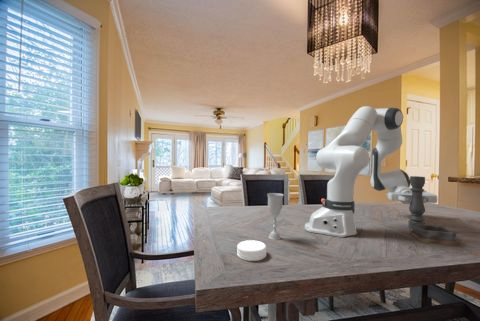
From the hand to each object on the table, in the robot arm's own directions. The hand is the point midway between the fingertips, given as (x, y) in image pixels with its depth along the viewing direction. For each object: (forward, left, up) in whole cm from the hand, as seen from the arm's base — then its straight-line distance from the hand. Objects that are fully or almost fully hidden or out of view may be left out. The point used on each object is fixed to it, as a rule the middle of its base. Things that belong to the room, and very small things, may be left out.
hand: (417, 199), depth 107 cm
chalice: (-63, -34, -14) cm, 73 cm away
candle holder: (0, +1, -14) cm, 14 cm away
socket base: (0, -14, -14) cm, 20 cm away
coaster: (-68, -53, -15) cm, 87 cm away
